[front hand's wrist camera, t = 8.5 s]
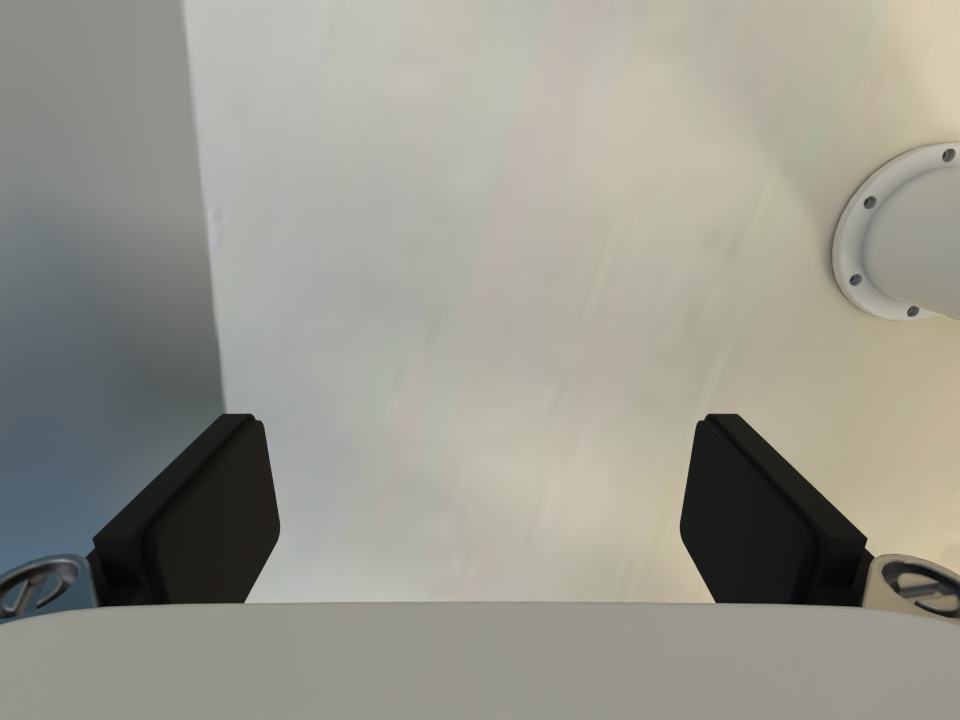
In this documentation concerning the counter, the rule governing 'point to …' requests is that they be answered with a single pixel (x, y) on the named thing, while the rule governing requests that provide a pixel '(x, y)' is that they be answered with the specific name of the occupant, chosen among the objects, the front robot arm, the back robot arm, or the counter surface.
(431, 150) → the counter surface
